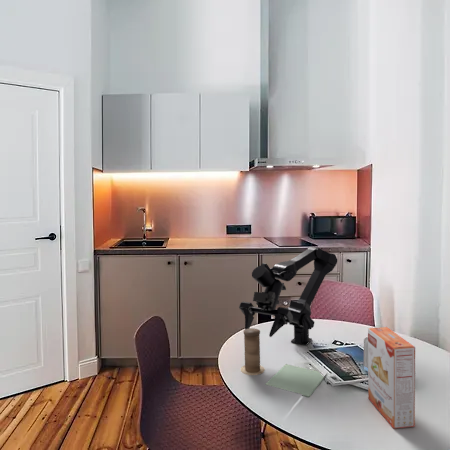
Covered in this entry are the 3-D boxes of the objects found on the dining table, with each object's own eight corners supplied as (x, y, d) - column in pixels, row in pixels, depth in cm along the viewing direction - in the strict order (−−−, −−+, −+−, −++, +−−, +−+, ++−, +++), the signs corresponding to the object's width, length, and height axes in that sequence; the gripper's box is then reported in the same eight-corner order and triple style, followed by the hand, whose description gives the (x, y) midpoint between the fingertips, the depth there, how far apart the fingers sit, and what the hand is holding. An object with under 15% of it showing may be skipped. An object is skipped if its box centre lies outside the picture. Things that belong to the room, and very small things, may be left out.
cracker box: (366, 399, 109) (366, 327, 108) (387, 398, 110) (387, 325, 108) (392, 429, 96) (392, 347, 94) (415, 428, 96) (416, 345, 94)
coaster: (247, 363, 134) (247, 362, 134) (268, 368, 130) (268, 367, 130) (236, 372, 128) (236, 371, 128) (257, 378, 124) (257, 377, 123)
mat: (286, 365, 132) (286, 363, 132) (326, 374, 125) (326, 373, 125) (265, 385, 119) (264, 384, 119) (309, 397, 111) (309, 396, 111)
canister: (249, 364, 133) (248, 327, 132) (263, 367, 130) (262, 330, 129) (241, 370, 128) (240, 332, 127) (256, 374, 125) (255, 335, 124)
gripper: (240, 279, 140) (225, 318, 132) (289, 285, 130) (275, 327, 122) (251, 295, 147) (237, 333, 139) (298, 302, 137) (286, 343, 129)
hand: (257, 334), depth 132 cm, fingers open, 9 cm apart
